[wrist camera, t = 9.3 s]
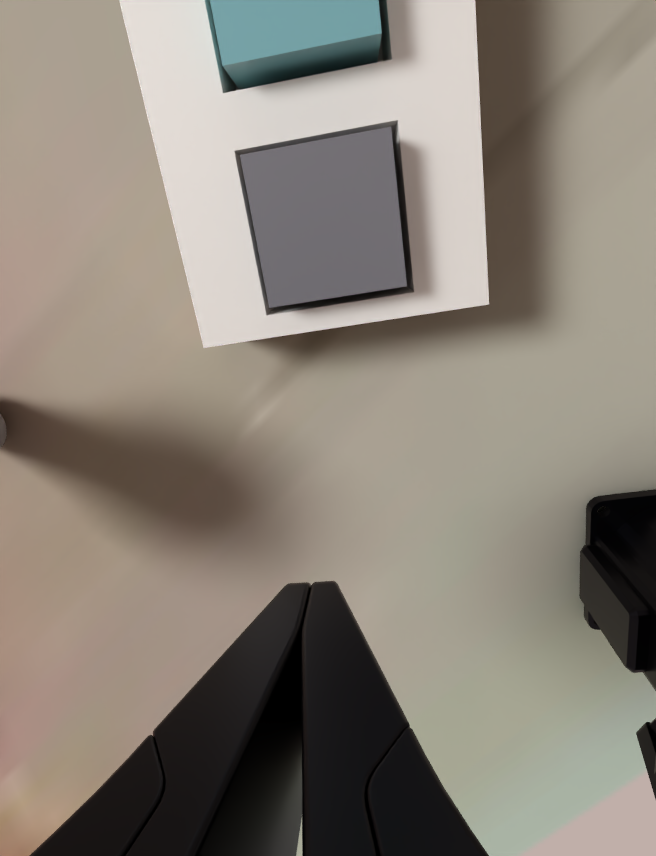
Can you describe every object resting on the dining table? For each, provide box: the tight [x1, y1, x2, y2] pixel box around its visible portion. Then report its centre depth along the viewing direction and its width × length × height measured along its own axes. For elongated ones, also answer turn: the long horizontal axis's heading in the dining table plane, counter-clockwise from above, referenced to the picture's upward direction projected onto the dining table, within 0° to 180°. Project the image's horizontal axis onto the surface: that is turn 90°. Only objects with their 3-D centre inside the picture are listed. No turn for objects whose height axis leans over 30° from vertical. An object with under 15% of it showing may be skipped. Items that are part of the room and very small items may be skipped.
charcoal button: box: [240, 127, 407, 308], centre depth 15 cm, size 4×4×3 cm
